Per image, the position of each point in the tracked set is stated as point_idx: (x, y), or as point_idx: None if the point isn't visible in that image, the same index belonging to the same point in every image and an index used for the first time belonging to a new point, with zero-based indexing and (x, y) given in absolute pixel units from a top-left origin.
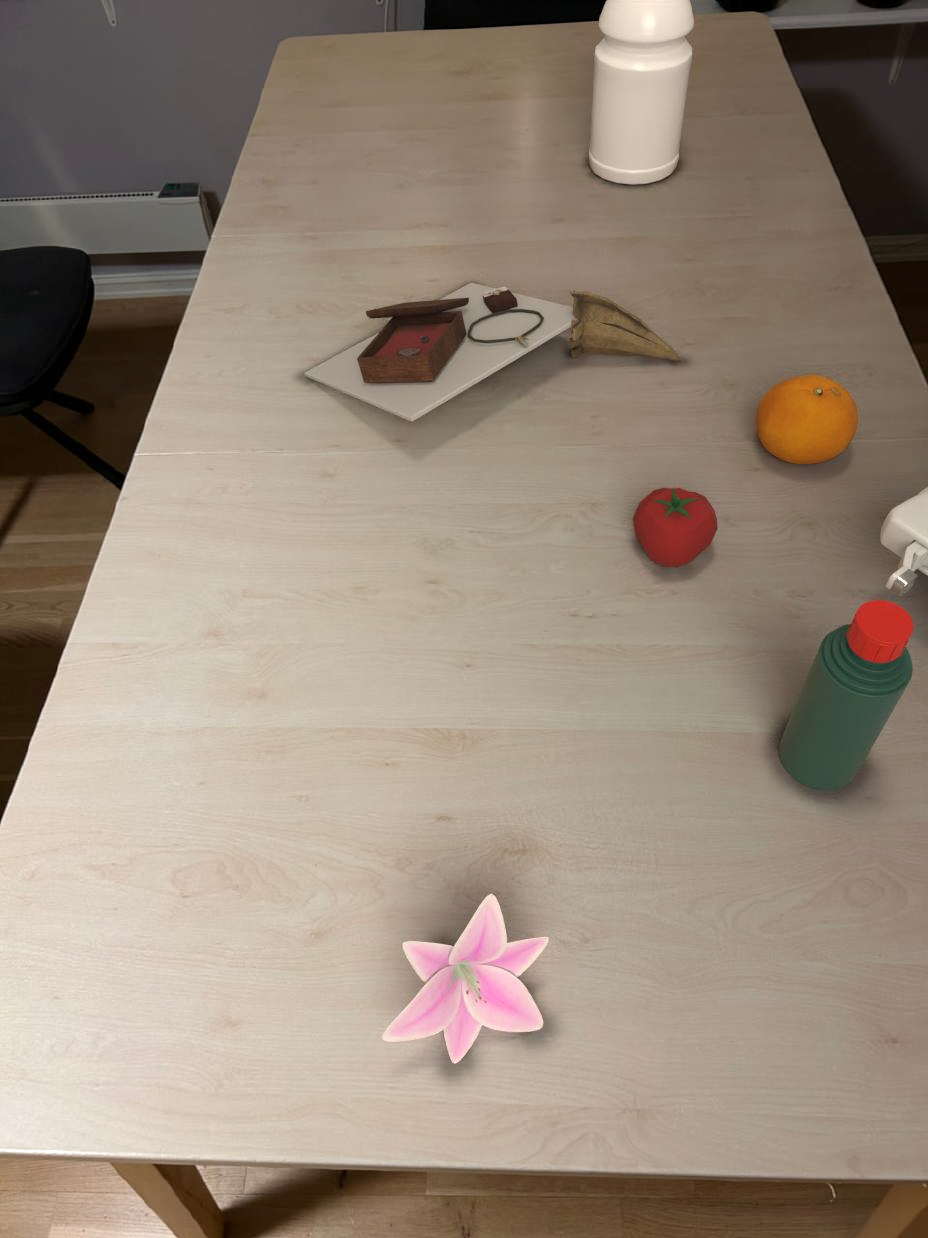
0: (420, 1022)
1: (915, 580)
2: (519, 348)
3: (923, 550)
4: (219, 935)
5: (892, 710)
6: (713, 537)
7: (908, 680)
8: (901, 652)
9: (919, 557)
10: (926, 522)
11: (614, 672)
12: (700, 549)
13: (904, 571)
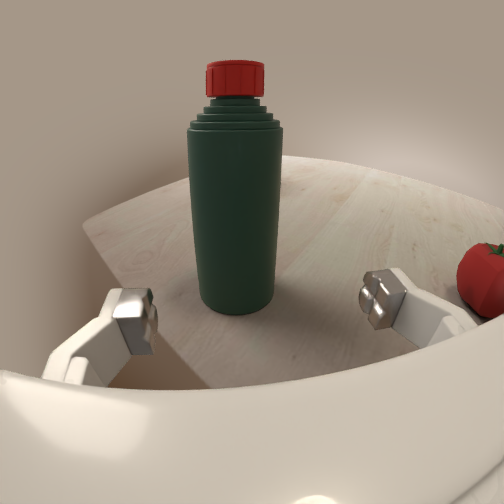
0: None
1: (383, 308)
2: None
3: (458, 330)
4: (289, 166)
5: (189, 176)
6: (484, 295)
7: (189, 129)
8: (206, 88)
9: (440, 325)
10: None
11: (366, 241)
12: (471, 286)
13: (402, 281)
